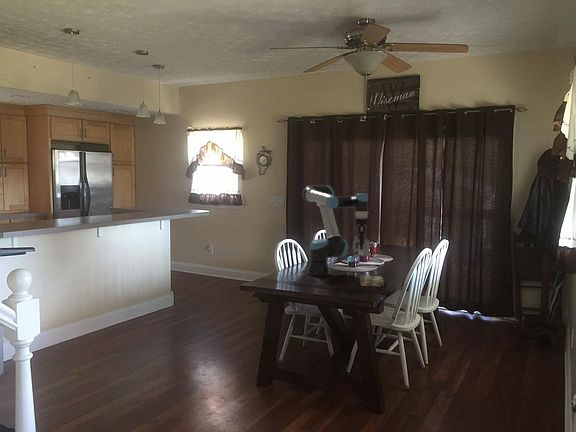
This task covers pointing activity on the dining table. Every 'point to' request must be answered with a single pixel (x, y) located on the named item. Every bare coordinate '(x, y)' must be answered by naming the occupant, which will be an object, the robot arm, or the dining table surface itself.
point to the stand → (371, 281)
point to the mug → (366, 246)
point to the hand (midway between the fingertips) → (361, 253)
